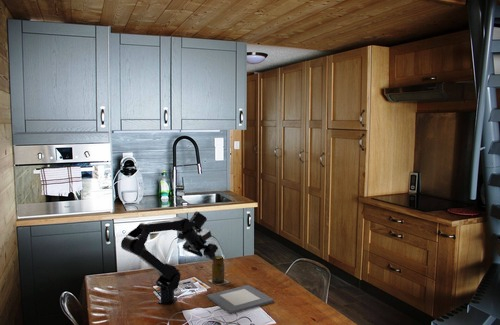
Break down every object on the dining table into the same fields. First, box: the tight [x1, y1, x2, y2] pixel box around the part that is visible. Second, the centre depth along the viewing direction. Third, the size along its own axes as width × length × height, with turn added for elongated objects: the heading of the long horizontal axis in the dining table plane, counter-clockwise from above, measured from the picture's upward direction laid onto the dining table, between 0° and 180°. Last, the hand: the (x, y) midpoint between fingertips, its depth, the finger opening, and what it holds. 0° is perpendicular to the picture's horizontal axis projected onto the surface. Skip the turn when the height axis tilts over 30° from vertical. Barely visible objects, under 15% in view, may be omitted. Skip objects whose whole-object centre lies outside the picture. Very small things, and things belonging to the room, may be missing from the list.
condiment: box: [208, 255, 230, 286], centre depth 202 cm, size 7×8×12 cm
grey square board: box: [206, 284, 275, 315], centre depth 181 cm, size 22×20×1 cm
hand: (208, 258), depth 196 cm, fingers open, 9 cm apart
